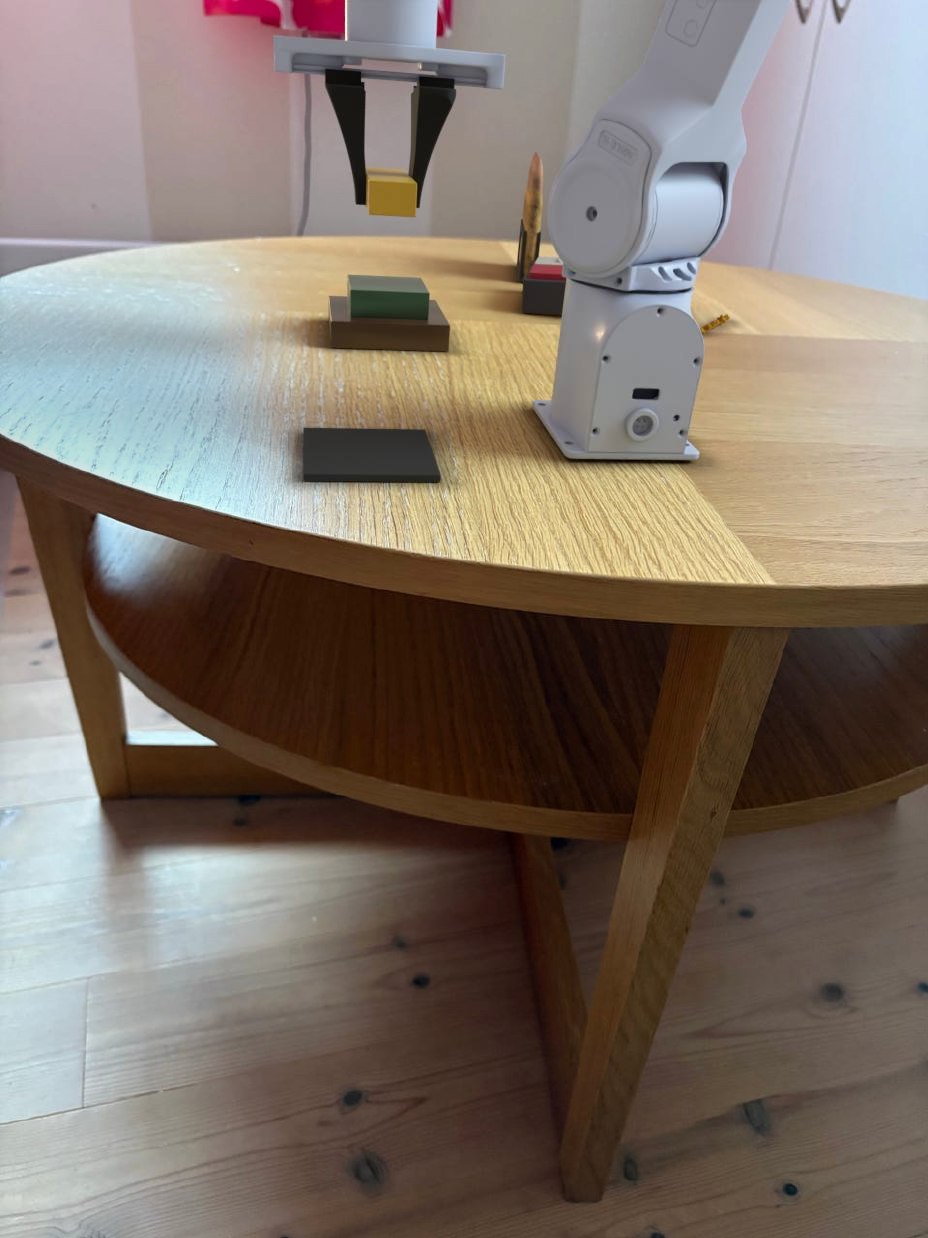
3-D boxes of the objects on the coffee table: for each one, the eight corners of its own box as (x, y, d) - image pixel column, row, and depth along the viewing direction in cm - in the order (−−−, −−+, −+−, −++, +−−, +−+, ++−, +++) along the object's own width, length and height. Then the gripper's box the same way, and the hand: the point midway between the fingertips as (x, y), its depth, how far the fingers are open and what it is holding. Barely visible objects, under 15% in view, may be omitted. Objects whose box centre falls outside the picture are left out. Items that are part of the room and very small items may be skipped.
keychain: (720, 321, 86) (722, 310, 85) (731, 323, 85) (733, 312, 85) (694, 335, 80) (696, 323, 79) (705, 337, 79) (707, 325, 79)
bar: (415, 217, 57) (417, 182, 56) (369, 214, 56) (369, 179, 55) (402, 199, 65) (403, 168, 64) (361, 196, 65) (361, 166, 64)
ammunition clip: (516, 265, 104) (527, 150, 98) (532, 266, 104) (544, 151, 98) (518, 282, 95) (530, 156, 89) (535, 283, 95) (549, 158, 89)
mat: (440, 482, 46) (440, 475, 46) (303, 481, 45) (303, 473, 45) (425, 435, 52) (425, 429, 52) (303, 433, 51) (303, 426, 50)
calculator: (533, 252, 90) (685, 259, 88) (531, 297, 92) (678, 304, 90) (522, 270, 80) (691, 278, 78) (520, 319, 82) (684, 328, 81)
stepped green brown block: (448, 351, 68) (452, 297, 66) (331, 348, 67) (330, 292, 65) (434, 323, 76) (437, 274, 74) (328, 320, 75) (328, 269, 73)
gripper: (498, -24, 58) (482, 203, 65) (273, -46, 56) (281, 191, 63) (519, -35, 52) (499, 216, 59) (268, -60, 50) (278, 203, 57)
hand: (387, 204), depth 61 cm, fingers closed on bar, 3 cm apart
